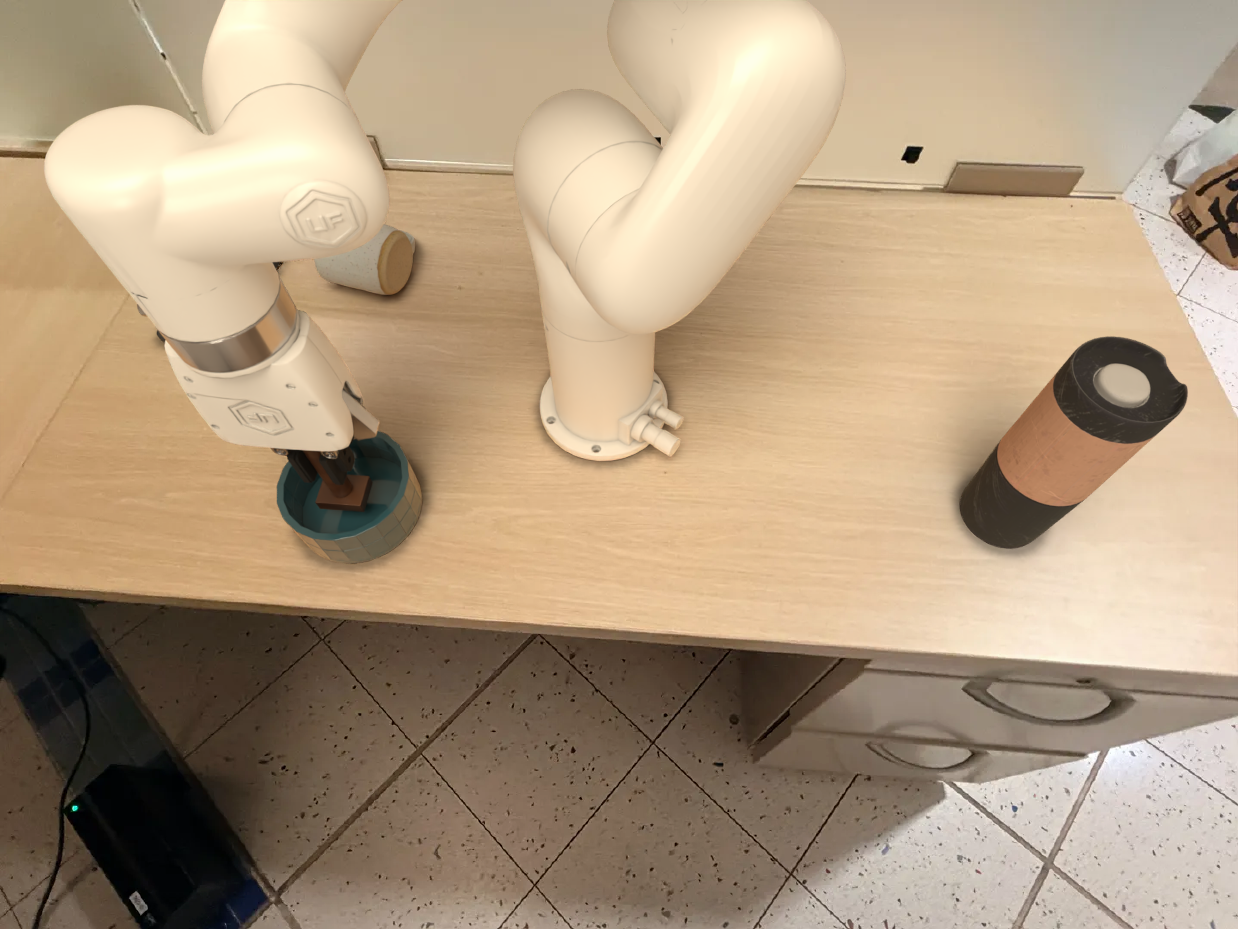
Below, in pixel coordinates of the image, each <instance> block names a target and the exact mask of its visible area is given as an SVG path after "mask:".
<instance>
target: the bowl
mask: <svg viewBox="0 0 1238 929" xmlns="http://www.w3.org/2000/svg"><path fill="white" fill-rule="evenodd" d="M349 447H350V449H351V450H352V452H353V454H354V457H355V460H354V465H353V468H352V470H351V471H348V472H347V475H360V476H369V477H370V479H371V480H372V482H373V484H372V487H371V491H370V494H369V498H368V501H367V504H366V508H365V511H364V512H359V511H345V510H331V509H320V508H319V507H318V505H317V504H316V503H315V502H316V499H317V496H318V493H319V490H320V487H321V484H322V481H323V479H322V478H321V477H320V475H319V474H318V472H317V475H316V478H315V481H313V482H312V483H307V482H304V481H303V480H302V478H301V477H300V476H299V474H298V473H297V472H296V470H295V469H294V468H293V466H292V465H291V463H290V462H289V461H288V460H287V462H286V463H285V465H284V466H283V467H282V470H281V473H280V475H279V478H278V481H277V483H276V505H277V507H278V510H279V513H280V515H281V519H282V520H283V521H284V522H285V523H286V524H287V525H288V526H289V527H290V529H292V531H293V532H294V533H295V534H296V535H297V536H298V537H299V538H300V539H301V541H302V542H303V543H304V544H306V546H307V547H308V548H309V549H310V550H311V551H312V552H313V553H315V554H316V555H318V556H319V557H321V558H323V559H325V560H327V561H330V562H334V563H339V564H360V563H365V562H370V561H372V560H375V559H378V558H379V557H383V556H384V555H386V554H388V553H390V552H391V551H393V550H394V549H395V548H396V547H398V546H399V545H401V544H402V542H404V541H405V540H406V538H407V537H408V536H409V535H410V534H411V532H412V531H413V530H414V528H415V526H416V524H417V522H418V520H419V518H420V514H421V511H422V505H423V495H422V488H421V485H420V482H419V479H418V478H417V476H416V474H415V472H414V470H413V467H412V466H411V463H410V462H409V460H408V458H407V456H406V453H405V452H404V449H403V448H402V446H401V445H400V444H399V443H398V442H397V441H396V440H395V439H393V437H391V436H390V435H388V434H387V433H385V432H383V431H380V430H378V431H377V435H376V437H374V438H369V439H363V440H357V439H355V440H353V442H352V443H351V444H350V445H349Z"/></svg>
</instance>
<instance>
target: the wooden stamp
mask: <svg viewBox="0 0 1238 929" xmlns="http://www.w3.org/2000/svg"><path fill="white" fill-rule="evenodd" d="M303 452H304V453H305V455H306V456H307V458H308V459H309V461H310V462H311V463H312V465H313V466H314V468H315V469H316V471H317V472H318V474H319V475H320V477H321V478H322V479H323V481H322V484H321V487H320V490H319V493H318V496H317V499H316V502H315V503H316V504H317V505H318V507H319V508H320V509H331V510H345V511H359V512H364V511H365V508H366V504H367V501H368V498H369V494H370V491H371V487H372V484H373V482H372V480H371V479H370V477H369V476H360V475H346V478H345V481H344V484H343V485H336V484H335V483H333V482H332V480H331V479H330V477H329V476H328V474H327V473H326V471H325V470H324V468H323V467H322V465H321V464H320V462H319V457H320V454H321V453H320V451H309V450H303Z"/></svg>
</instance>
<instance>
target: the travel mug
mask: <svg viewBox="0 0 1238 929" xmlns="http://www.w3.org/2000/svg"><path fill="white" fill-rule="evenodd" d="M1188 398H1189V390H1188V386H1187V384H1186V383H1182V382H1180V381H1179V380H1178V379H1177V378H1176V377H1175V375H1174V374H1173V372H1172V371H1171V370H1170V367H1169V366H1168V362H1167V358H1166V356H1165V355H1164V354H1163V353H1162V352H1160V351H1159V350H1158V349H1156V348H1154V347H1152V346H1150V345H1148V344H1146V343H1144V342H1141V341H1138V340H1135V339H1132V338H1128V337H1122V336H1114V335H1113V336H1111V335H1110V336H1108V335H1107V336H1100V337H1096V338H1095V337H1094V338H1092V339H1089V340H1087V341H1085V342H1084V343H1082V344H1080V346H1078V347H1077V348H1076V349H1075V350H1074V351H1073V352H1072V354H1070V356H1069V357H1068V358H1067V359H1066V360H1065V362H1064V363H1063V364H1062V366H1061V367H1060V368H1059V369H1058V370H1057V372H1056V373H1055V374H1054V375H1053V376H1052V378H1051V379H1050V380H1049V381H1048V382H1047V384H1046V385H1045V386H1044V387H1043V388H1042V389H1041V391H1040V392H1039V393H1038V394H1037V396H1036V397H1035V398H1034V399H1033V400H1032V402H1031V403H1030V404H1029V405H1028V406H1027V407H1026V409H1025V410H1024V411H1023V412H1022V413H1021V415H1020V416H1019V417H1018V418H1017V420H1015V422H1014V423H1013V424H1012V425H1011V427H1010V428H1009V429H1008V430H1007V431H1006V432H1005V434H1004V435H1003V436H1002V437H1001V439H1000V440H999V442H998V443H997V445H996V446H995V447H994V448H993V450H992V451H991V452H990V453H989V455H988V457H987V458H986V459H985V461H984V462H983V463H982V464H981V466H980V467H979V469H978V471H977V472H976V473H975V475H974V476H973V477H972V478H971V480H970V481H969V483H968V484H967V485H966V487H965V489H964V490H963V491H962V494H961V497H960V499H959V500H960V501H959V510H960V511H959V512H960V516H961V518H962V520H963V522H964V523H965V525H966V527H967V528H968V529H969V530H970V532H971V533H972V534H973V535H975V536H976V537H977V538H978V539H980V540H981V541H982V542H985V543H987V544H988V545H991V546H994V547H997V548H1000V549H1019V548H1022V547H1025V546H1027V545H1029V544H1031V543H1032V542H1033V541H1035V540H1036V539H1037V538H1039V537H1040V536H1041V535H1043V534H1044V533H1045V532H1047V531H1049V529H1050V528H1051V527H1053V526H1054V525H1055V524H1057V523H1058V522H1059V521H1060V520H1062V519H1063V518H1064V517H1066V515H1068V514H1069V513H1070V512H1072V511H1073V510H1074V509H1076V508H1077V507H1078V506H1080V504H1082V503H1083V502H1084V501H1085V500H1087V499H1088V498H1089V497H1090V496H1091V495H1092V494H1093V493H1094V492H1096V490H1097V489H1099V488H1100V487H1101V486H1102V485H1103V484H1104V483H1105V482H1106V481H1108V480H1109V479H1110V478H1111V477H1112V476H1113V475H1114V474H1115V473H1117V471H1119V470H1120V469H1121V468H1122V467H1123V466H1124V465H1125V464H1126V463H1127V462H1128V461H1130V460H1131V459H1132V458H1134V456H1135V455H1136V454H1137V453H1138V452H1140V451H1141V450H1142V449H1143V448H1144V447H1146V445H1147V444H1149V442H1150V441H1152V440H1153V439H1154V438H1155V437H1156V436H1157V435H1158V434H1159V433H1160V432H1161V431H1163V430H1164V429H1165V428H1166V427H1168V425H1169V424H1171V423H1172V422H1173V421H1174V420H1175V419H1176V418H1177V417H1178V416H1179V415H1180V414H1181V413H1182V411H1183V410H1184V408H1185V406H1186V404H1187V402H1188Z"/></svg>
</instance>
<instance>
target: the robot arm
mask: <svg viewBox="0 0 1238 929" xmlns="http://www.w3.org/2000/svg"><path fill="white" fill-rule="evenodd" d="M402 1H403V0H224V1H223V4H222V6H221V8H220V11H219V14H218V16H217V18H216V21H215V23H214V26H213V29H212V31H211V34H210V37H209V39H208V42H207V46H206V49H205V54H204V58H203V64H202V72H201V73H202V74H201V91H202V99H203V104H204V108H205V112H206V115H207V119H208V122H209V125H210V128H211V131H212V134H206V133H203V132H201V131H200V129H199V128H197V127H196V126H195V125H194V124H193V123H191V122H190V121H189V120H188V119H187V118H185V117H184V116H182V115H180V114H178V113H176V112H175V111H172V110H170V109H166V108H163V107H159V106H152V105H147V104H129V105H119V106H114V107H113V106H112V107H109V108H105V109H101V110H99V111H95V112H94V113H91V114H87V115H86V116H84V117H82V118H80V119H78V120H77V121H75V122H73V123H72V124H70V125H69V126H67V127H66V128H64V129H63V131H61V132H60V133H59V134H58V135H57V137H55V139H54V140H53V142H52V143H51V144H50V146H49V148H48V150H47V151H46V154H45V158H44V163H43V164H44V165H43V172H44V178H45V183H46V185H47V188H48V190H49V191H50V192H49V193H50V195H51V196H52V198H53V199H54V201H55V202H56V203H57V205H58V206H59V208H60V209H61V210H62V212H63V213H64V214H65V216H66V217H67V218H68V219H69V221H70V222H71V223H72V224H73V226H74V227H75V228H76V229H77V231H78V232H79V233H80V235H82V237H83V238H84V239H85V241H86V242H87V243H88V244H89V246H90V247H91V248H92V250H93V251H94V252H95V253H96V254H97V256H98V257H99V258H100V259H101V261H102V262H103V263H104V265H105V266H106V267H107V268H108V270H109V271H110V272H111V273H112V274H113V276H114V277H115V278H116V280H117V281H118V282H119V283H120V285H121V286H122V287H123V289H125V290H126V292H127V293H128V295H129V296H130V297H131V299H133V301H134V302H135V303H136V308H137V311H138V313H139V315H141V316H142V317H146V318H148V319H149V320H150V321H151V323H152V324H153V325H154V327H155V329H156V331H157V330H158V331H159V332H160V334H161V335H162V336H163V337H164V339H165V342H164V351H165V353H166V357H167V360H168V362H169V364H170V367H171V369H172V372H173V374H174V376H175V379H176V380H177V382H178V384H179V386H180V387H181V389H182V391H183V392H184V394H185V395H186V397H187V399H188V400H189V401H190V403H191V404H192V406H193V407H194V409H195V410H196V412H197V413H198V414H199V416H200V417H201V418H202V419H203V421H204V422H205V424H206V425H207V426H208V427H209V429H211V431H212V432H213V433H214V434H215V435H216V436H217V437H218V438H219V439H220V440H222V441H223V442H227V443H229V444H232V445H237V446H246V447H256V448H267V449H270V450H271V451H272V452H273V453H274V454H276V455H277V456H283V457H284V456H286V460H287V462H288V461H289V462H290V463H291V465H292V466H293V468H294V469H295V470H296V472H297V473H298V474H299V476H300V477H301V478H302V480H303V481H304V482H307V483H312V482H313V481H315V478H316V475H317V471H316V469H315V468H314V466H313V465H312V463H311V462H310V461H309V459H308V458H307V456H306V455H305V453H304V452H303V450H309V451H320V453H321V454H320V457H319V462H320V464H321V465H322V467H323V468H324V470H325V471H326V473H327V474H328V476H329V477H330V479H331V480H332V482H333V483H335V484H336V485H343V484H344V481H345V478H346V475H347V472H348V471H351V470H352V468H353V465H354V460H355V457H354V454H353V452H352V450H351V449H350V447H349V445H350V444H351V443H352V442H353V440H355V439H357V440H363V439H369V438H374V437H376V435H377V431H379V428H380V424H381V421H380V420H379V419H378V418H377V417H376V416H375V415H373V414H372V413H371V412H370V411H369V410H368V409H367V408H365V406H363V404H364V397H363V394H362V392H361V389H360V388H359V384H358V383H357V381H356V379H355V377H354V375H353V374H352V372H351V371H350V368H349V366H348V365H347V363H346V362H345V360H344V358H343V357H342V356H341V354H340V353H339V351H338V349H337V348H336V347H335V345H334V344H333V343H332V342H331V340H330V339H329V337H328V336H327V335H326V334H325V332H324V331H323V329H321V328H320V326H319V325H318V323H316V322H315V320H314V319H313V318H311V316H310V315H309V314H308V313H307V312H305V311H303V310H300V309H298V308H297V307H296V304H295V301H294V300H293V298H292V296H291V295H290V293H289V291H288V289H287V287H286V285H285V284H284V282H283V280H282V277H281V276H280V274H279V273H278V271H277V268H276V269H275V267H274V265H273V263H272V262H280V263H281V262H294V261H304V260H305V261H306V260H314V259H317V258H324V257H330V256H334V255H339V254H343V253H346V252H349V251H351V250H354V249H356V248H359V247H360V246H362V245H364V244H366V243H367V242H368V241H370V240H371V239H372V238H373V237H374V236H375V235H376V234H377V233H378V232H379V231H380V230H381V228H382V226H383V225H384V224H385V223H386V222H387V218H388V215H389V211H390V204H391V203H390V202H391V196H390V194H391V193H390V187H389V183H388V182H389V181H388V179H387V176H386V173H385V171H384V169H383V166H382V164H381V161H380V159H379V157H378V156H377V154H376V152H375V150H374V148H373V146H372V143H371V142H370V140H369V138H368V136H367V134H366V132H365V130H364V128H363V126H362V124H361V122H360V120H359V118H358V116H357V114H356V112H355V110H354V108H353V105H352V103H351V102H350V99H349V98H348V96H347V93H346V90H347V87H348V85H349V84H350V81H351V79H352V77H353V75H354V73H355V71H356V69H357V67H358V65H359V63H360V62H361V59H362V58H363V56H364V54H365V52H366V51H367V49H368V47H369V45H370V43H371V41H372V40H373V38H374V36H375V35H376V33H377V31H378V30H379V28H380V27H381V26H382V24H383V23H384V21H386V19H387V17H388V16H389V15H390V14H391V13H392V12H393V10H394V9H395V8H396V7H397V6H398V5H399V4H400V3H402ZM606 37H607V46H608V49H609V53H610V56H611V58H612V61H613V63H614V65H615V66H616V68H617V70H618V71H619V73H620V75H621V76H622V78H623V79H624V80H625V82H626V83H627V85H629V87H630V88H631V90H632V91H633V92H634V94H636V96H637V97H638V98H639V99H640V100H641V101H642V103H643V104H644V105H645V107H647V108H648V110H649V111H650V112H651V113H652V115H653V116H654V117H655V118H656V120H657V121H658V122H659V123H660V125H662V127H663V128H664V129H665V130H666V131H667V132H668V134H669V136H668V138H667V140H666V142H665V144H664V146H663V145H661V143H660V142H659V141H658V140H657V139H656V137H655V136H654V135H653V134H652V132H651V131H650V130H649V128H647V127H646V125H645V124H644V123H643V122H642V121H641V120H640V118H638V117H637V115H635V113H633V111H631V110H630V109H629V107H627V106H626V105H624V104H623V103H621V102H620V101H619V100H617V99H616V98H613V97H612V96H610V95H608V94H605V93H603V92H601V91H598V90H593V89H586V88H574V89H573V88H572V89H567V90H563V91H560V92H558V93H555V94H553V95H551V96H550V97H547V98H546V99H545V100H544V101H542V102H541V103H539V104H538V105H537V106H536V108H535V109H534V110H532V111H531V113H530V114H529V115H528V117H527V118H526V120H525V121H524V123H523V125H522V126H521V128H520V131H519V134H518V137H517V139H516V142H515V147H514V153H513V159H512V179H513V185H514V186H513V187H514V193H515V198H516V201H517V206H518V209H519V214H520V217H521V221H522V224H523V228H524V232H525V234H526V239H527V242H528V245H529V250H530V253H531V258H532V261H533V266H534V272H535V277H536V283H537V289H538V296H539V303H540V310H541V317H542V325H543V330H544V331H543V332H544V337H545V338H544V339H545V344H546V352H547V359H548V364H549V371H550V376H549V377H548V378H547V380H546V382H545V384H544V386H543V387H542V390H541V393H540V397H539V413H540V418H541V422H542V426H543V428H544V429H545V432H546V434H547V435H548V437H549V438H550V439H551V440H552V441H553V442H554V444H555V445H557V446H558V447H560V449H561V450H563V451H565V452H567V453H569V454H570V455H573V456H575V457H578V458H581V459H584V460H589V461H596V462H610V461H617V460H622V459H625V458H627V457H631V456H633V455H636V454H637V453H639V452H641V451H642V450H644V449H646V448H647V447H648V446H649V445H651V446H653V448H655V449H656V450H658V451H660V452H661V453H662V454H665V455H666V456H668V457H670V458H671V457H673V456H674V455H675V453H677V451H678V449H679V447H680V445H681V443H682V442H681V441H682V440H681V438H680V437H678V436H676V435H675V434H673V433H671V432H670V431H668V430H666V429H663V427H664V425H667V426H669V427H671V428H672V429H674V430H675V431H676V430H678V429H680V427H682V424H683V422H684V419H685V418H684V416H683V415H681V414H680V413H677V411H674V410H671V409H669V408H668V404H669V401H668V394H667V391H666V388H665V385H664V383H663V381H662V380H661V378H660V376H659V375H658V374H657V372H655V371H654V368H655V348H656V346H655V345H656V343H655V342H656V333H657V332H659V331H662V330H665V329H668V328H670V327H671V326H673V325H675V324H677V323H678V322H680V321H681V320H683V319H684V318H686V317H687V316H688V315H689V314H690V313H692V312H693V311H694V310H696V308H697V307H699V305H700V304H702V302H704V300H705V299H707V297H708V296H709V295H710V294H711V293H712V292H713V291H714V289H715V288H716V287H717V286H718V285H719V283H720V282H722V280H723V278H724V277H725V276H726V274H727V273H728V272H729V271H730V270H731V269H732V267H733V266H734V264H736V262H737V261H738V260H739V258H740V257H741V256H742V254H743V253H744V252H745V251H746V250H747V247H749V245H750V244H751V243H752V242H753V240H754V239H755V238H756V236H757V235H758V234H759V232H760V231H761V230H762V229H763V227H764V226H765V225H766V223H768V221H769V220H770V219H771V217H772V216H773V214H774V213H775V212H776V210H778V208H779V207H780V206H781V205H782V203H783V202H784V200H785V199H786V198H787V196H788V195H789V194H790V193H791V191H792V190H793V189H794V188H795V186H796V185H797V183H798V182H799V181H800V179H801V178H802V177H803V176H804V175H805V173H806V172H807V170H808V169H809V167H811V165H812V163H813V162H814V161H815V159H816V158H817V156H818V155H819V154H820V151H821V150H822V148H823V146H824V145H825V143H826V142H827V140H828V138H829V136H830V134H831V132H832V130H833V129H834V128H833V127H834V126H835V123H836V120H837V117H838V115H839V113H840V109H841V106H842V102H843V100H844V93H845V89H846V81H847V80H846V79H847V67H846V57H845V54H844V49H843V46H842V43H841V40H840V38H839V36H838V34H837V32H836V31H835V29H834V27H833V26H832V25H831V24H830V22H829V21H828V20H827V18H826V17H825V16H824V15H823V13H822V12H820V11H819V10H818V9H817V8H816V7H815V6H814V5H813V4H812V3H811V2H809V0H613V2H612V5H611V7H610V11H609V14H608V19H607V25H606Z"/></svg>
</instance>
